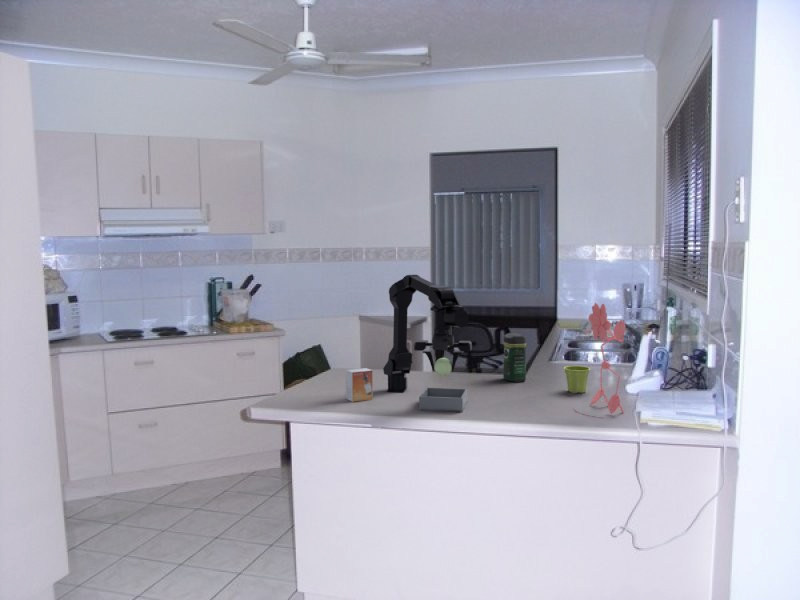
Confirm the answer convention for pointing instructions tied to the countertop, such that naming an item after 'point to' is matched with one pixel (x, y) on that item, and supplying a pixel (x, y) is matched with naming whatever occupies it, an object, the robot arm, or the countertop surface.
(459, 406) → the bin
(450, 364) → the ball
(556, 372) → the countertop surface
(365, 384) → the small box
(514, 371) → the coffee jar
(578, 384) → the plant pot
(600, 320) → the figurine
